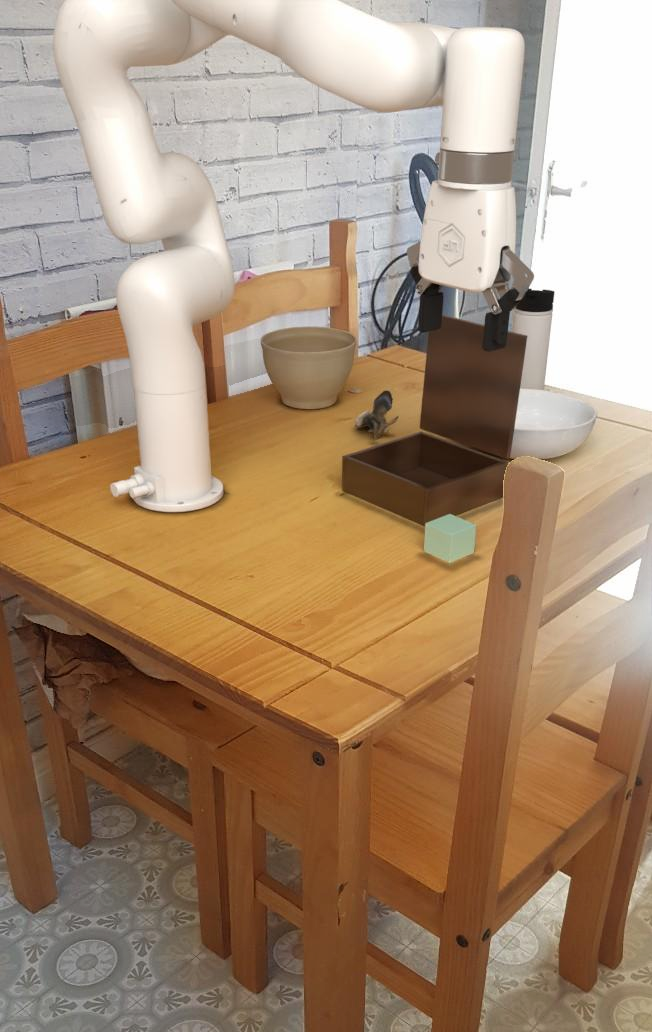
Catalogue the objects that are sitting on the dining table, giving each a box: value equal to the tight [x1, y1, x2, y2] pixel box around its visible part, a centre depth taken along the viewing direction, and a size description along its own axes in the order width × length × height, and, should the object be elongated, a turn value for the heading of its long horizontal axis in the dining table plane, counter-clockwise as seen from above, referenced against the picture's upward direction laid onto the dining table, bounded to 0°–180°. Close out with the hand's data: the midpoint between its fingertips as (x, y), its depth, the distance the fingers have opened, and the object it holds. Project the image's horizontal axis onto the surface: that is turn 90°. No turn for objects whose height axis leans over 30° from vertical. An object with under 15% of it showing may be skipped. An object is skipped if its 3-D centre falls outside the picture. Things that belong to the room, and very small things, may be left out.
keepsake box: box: [341, 431, 509, 527], centre depth 142 cm, size 15×16×6 cm
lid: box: [419, 314, 527, 460], centre depth 142 cm, size 16×16×5 cm
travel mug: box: [511, 288, 555, 391], centre depth 171 cm, size 6×7×20 cm
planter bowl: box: [260, 325, 357, 410], centre depth 177 cm, size 16×16×11 cm
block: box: [423, 514, 477, 564], centre depth 127 cm, size 4×4×4 cm
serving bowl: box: [509, 389, 598, 460], centre depth 158 cm, size 21×21×7 cm
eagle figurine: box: [354, 389, 400, 442], centre depth 164 cm, size 8×7×9 cm
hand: (460, 339), depth 115 cm, fingers open, 9 cm apart
